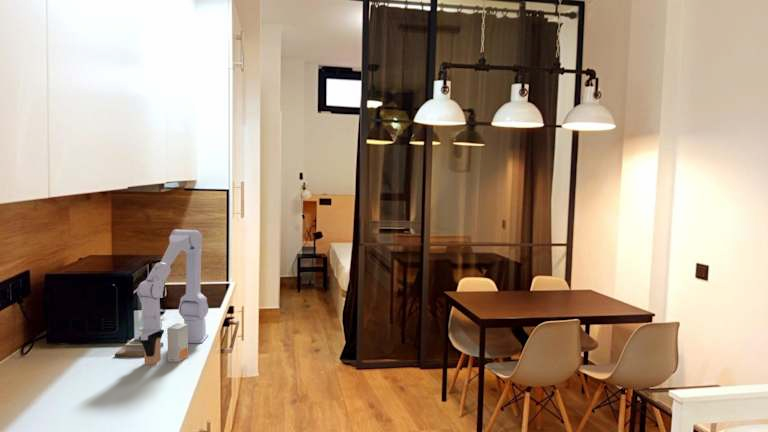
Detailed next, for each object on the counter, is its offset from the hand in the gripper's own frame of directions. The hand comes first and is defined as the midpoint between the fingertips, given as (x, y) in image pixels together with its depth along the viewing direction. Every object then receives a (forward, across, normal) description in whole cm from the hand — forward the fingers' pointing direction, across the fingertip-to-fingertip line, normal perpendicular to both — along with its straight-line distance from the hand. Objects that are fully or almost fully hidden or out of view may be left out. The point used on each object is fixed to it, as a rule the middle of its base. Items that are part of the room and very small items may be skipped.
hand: (152, 353), depth 178 cm
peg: (+3, 0, 0) cm, 3 cm away
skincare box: (+3, -2, +8) cm, 9 cm away
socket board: (+3, -11, -8) cm, 14 cm away
